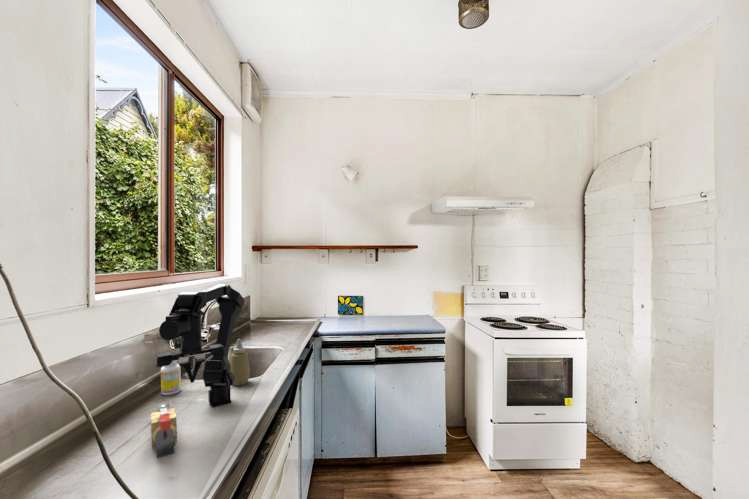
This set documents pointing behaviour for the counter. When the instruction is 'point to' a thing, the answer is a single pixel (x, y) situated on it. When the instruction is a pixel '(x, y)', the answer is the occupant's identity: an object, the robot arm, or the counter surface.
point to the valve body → (163, 434)
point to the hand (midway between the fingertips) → (192, 382)
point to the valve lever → (164, 416)
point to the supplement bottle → (170, 379)
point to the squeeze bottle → (240, 364)
